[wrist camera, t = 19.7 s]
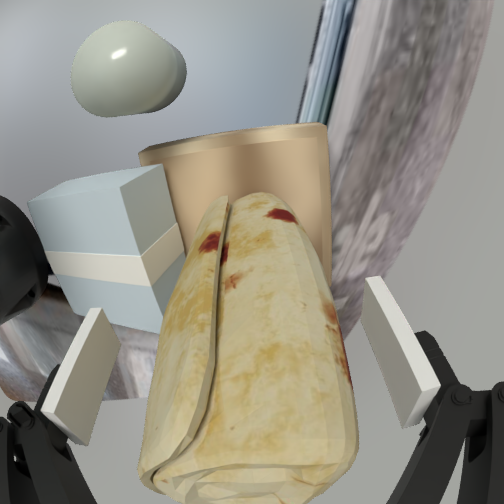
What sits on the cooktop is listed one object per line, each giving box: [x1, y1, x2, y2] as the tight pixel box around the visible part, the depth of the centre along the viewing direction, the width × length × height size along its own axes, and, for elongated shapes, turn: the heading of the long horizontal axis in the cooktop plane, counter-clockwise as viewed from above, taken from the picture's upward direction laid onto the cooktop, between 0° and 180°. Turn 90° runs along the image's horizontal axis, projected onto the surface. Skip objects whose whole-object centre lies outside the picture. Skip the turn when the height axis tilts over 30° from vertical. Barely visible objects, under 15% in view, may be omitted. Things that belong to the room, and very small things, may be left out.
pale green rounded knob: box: [71, 21, 187, 117], centre depth 18 cm, size 6×6×7 cm
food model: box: [137, 192, 359, 504], centre depth 16 cm, size 10×7×20 cm
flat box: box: [27, 164, 186, 334], centre depth 24 cm, size 12×12×5 cm
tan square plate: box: [138, 122, 332, 286], centre depth 26 cm, size 14×14×3 cm
